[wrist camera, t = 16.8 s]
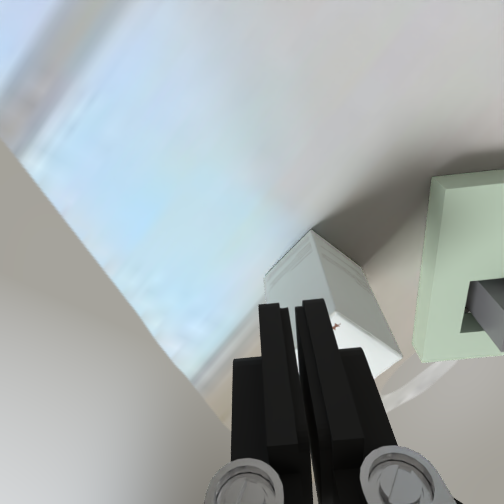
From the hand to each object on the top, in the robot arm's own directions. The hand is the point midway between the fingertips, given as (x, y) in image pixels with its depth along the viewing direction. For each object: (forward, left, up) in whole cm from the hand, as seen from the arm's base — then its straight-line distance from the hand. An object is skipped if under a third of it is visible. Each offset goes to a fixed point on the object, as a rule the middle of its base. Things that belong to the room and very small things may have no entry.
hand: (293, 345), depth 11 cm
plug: (+20, +22, -27) cm, 40 cm away
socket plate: (+17, +22, -27) cm, 39 cm away
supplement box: (+16, +4, -27) cm, 32 cm away
